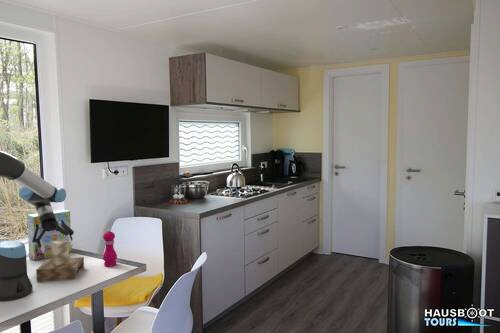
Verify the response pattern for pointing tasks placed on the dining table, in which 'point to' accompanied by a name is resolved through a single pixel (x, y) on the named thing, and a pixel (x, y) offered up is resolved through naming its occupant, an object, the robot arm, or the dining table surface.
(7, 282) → the robot arm
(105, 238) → the pepper mill
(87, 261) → the dining table surface
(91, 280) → the dining table surface
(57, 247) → the birch block
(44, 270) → the brown wooden slab
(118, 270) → the dining table surface
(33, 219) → the snack box
